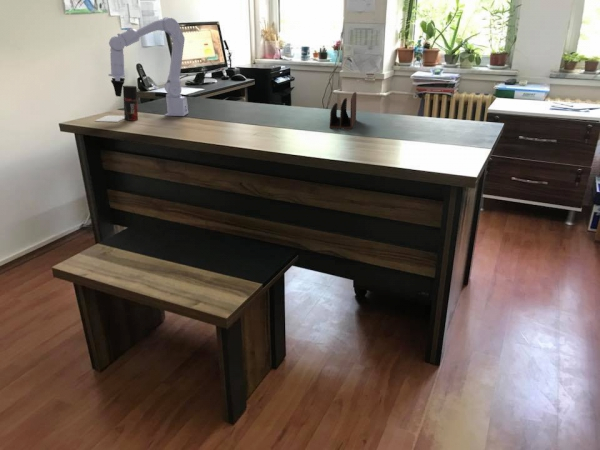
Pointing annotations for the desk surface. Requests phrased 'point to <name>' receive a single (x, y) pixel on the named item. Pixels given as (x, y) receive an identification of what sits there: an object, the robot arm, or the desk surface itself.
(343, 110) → the letter holder
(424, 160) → the desk surface
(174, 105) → the robot arm
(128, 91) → the deodorant
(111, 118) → the mat
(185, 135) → the desk surface
